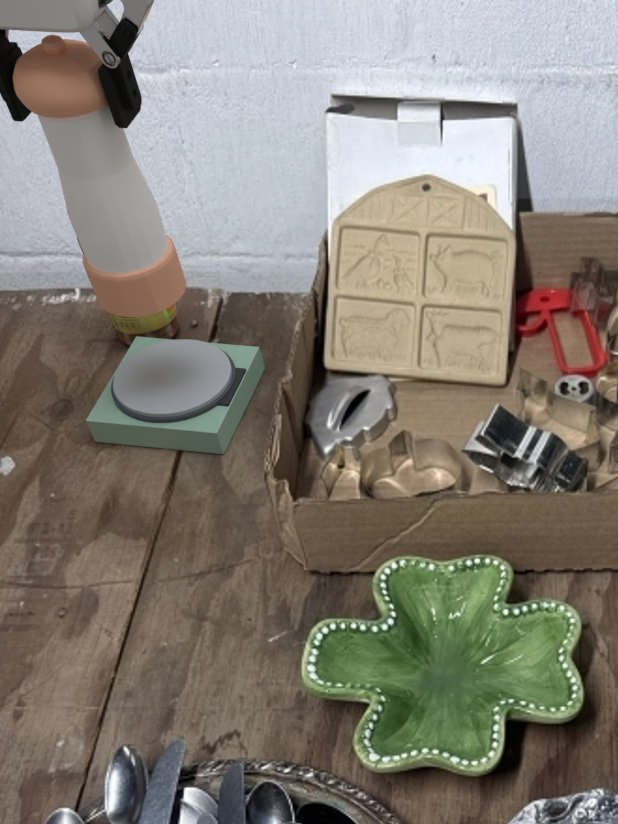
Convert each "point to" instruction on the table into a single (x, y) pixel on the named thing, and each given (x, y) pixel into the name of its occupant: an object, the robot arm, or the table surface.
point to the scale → (177, 395)
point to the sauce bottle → (146, 324)
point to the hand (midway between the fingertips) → (77, 113)
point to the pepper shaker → (100, 180)
